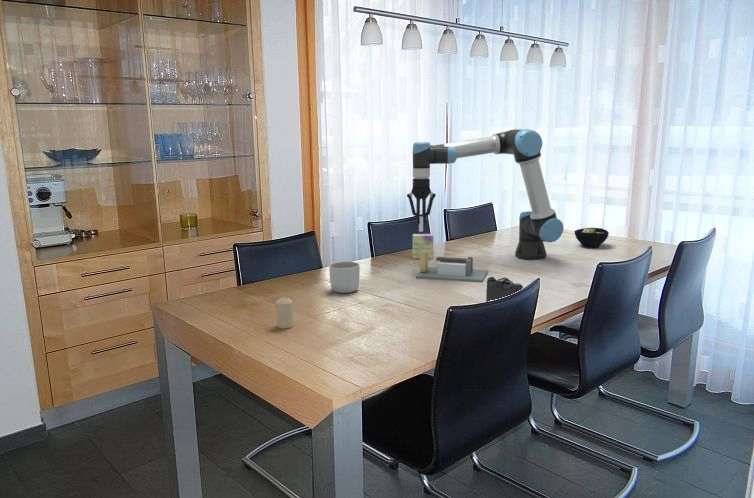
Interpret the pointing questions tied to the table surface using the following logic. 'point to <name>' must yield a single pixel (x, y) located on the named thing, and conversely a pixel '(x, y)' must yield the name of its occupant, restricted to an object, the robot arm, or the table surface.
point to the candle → (284, 313)
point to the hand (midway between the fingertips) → (420, 231)
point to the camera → (500, 288)
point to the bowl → (591, 237)
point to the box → (422, 244)
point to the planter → (344, 276)
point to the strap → (452, 259)
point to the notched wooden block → (424, 259)
